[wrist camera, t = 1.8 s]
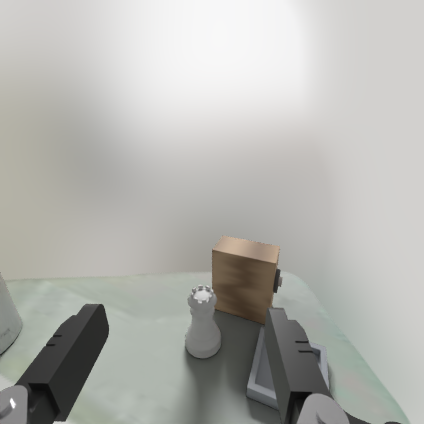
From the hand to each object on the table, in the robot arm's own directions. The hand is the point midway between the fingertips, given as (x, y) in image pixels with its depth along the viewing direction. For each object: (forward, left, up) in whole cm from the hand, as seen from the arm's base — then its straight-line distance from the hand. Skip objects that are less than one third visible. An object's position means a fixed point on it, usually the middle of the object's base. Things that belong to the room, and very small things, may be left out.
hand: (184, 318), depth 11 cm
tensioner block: (-1, +18, -17) cm, 24 cm away
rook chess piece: (-4, +10, -17) cm, 20 cm away
